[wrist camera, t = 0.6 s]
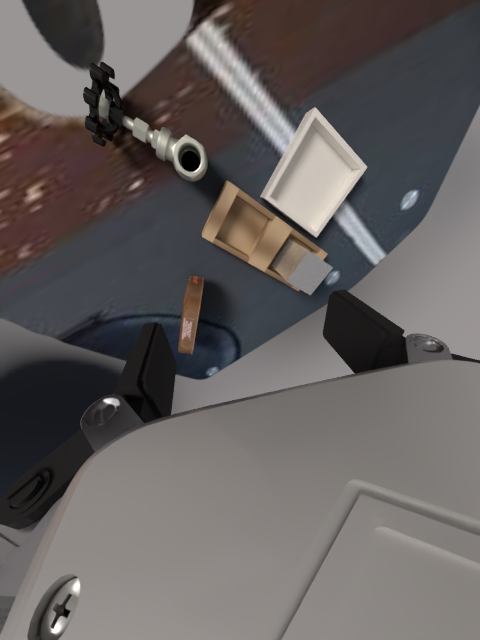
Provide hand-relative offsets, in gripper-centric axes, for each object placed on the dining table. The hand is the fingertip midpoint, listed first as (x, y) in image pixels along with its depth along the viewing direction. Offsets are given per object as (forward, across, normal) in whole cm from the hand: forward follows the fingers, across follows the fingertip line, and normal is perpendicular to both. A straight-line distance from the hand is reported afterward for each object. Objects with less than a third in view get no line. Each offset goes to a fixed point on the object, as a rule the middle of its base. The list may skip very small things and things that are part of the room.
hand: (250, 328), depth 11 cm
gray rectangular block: (+26, -12, +5) cm, 29 cm away
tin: (+27, +6, +12) cm, 30 cm away
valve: (+27, +5, -12) cm, 29 cm away
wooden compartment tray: (+26, -8, +2) cm, 28 cm away
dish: (+26, -16, -6) cm, 31 cm away
